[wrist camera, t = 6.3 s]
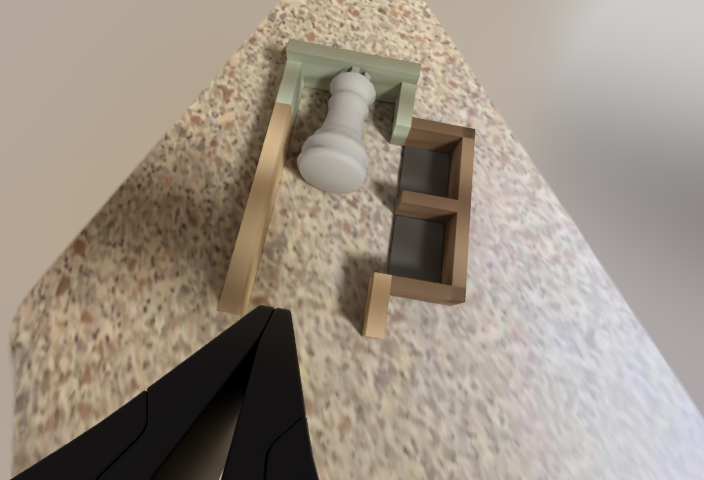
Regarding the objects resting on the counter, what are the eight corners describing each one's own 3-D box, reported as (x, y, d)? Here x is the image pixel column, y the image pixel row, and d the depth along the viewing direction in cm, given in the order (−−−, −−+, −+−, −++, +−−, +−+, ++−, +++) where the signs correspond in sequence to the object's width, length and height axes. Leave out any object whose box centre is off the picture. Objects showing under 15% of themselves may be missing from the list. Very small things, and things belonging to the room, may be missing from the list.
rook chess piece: (381, 181, 19) (400, 83, 22) (317, 142, 17) (348, 39, 20) (339, 203, 23) (360, 116, 26) (282, 173, 21) (312, 81, 24)
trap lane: (447, 350, 20) (468, 352, 17) (228, 313, 19) (211, 309, 16) (465, 106, 25) (482, 76, 22) (293, 73, 25) (289, 38, 22)
